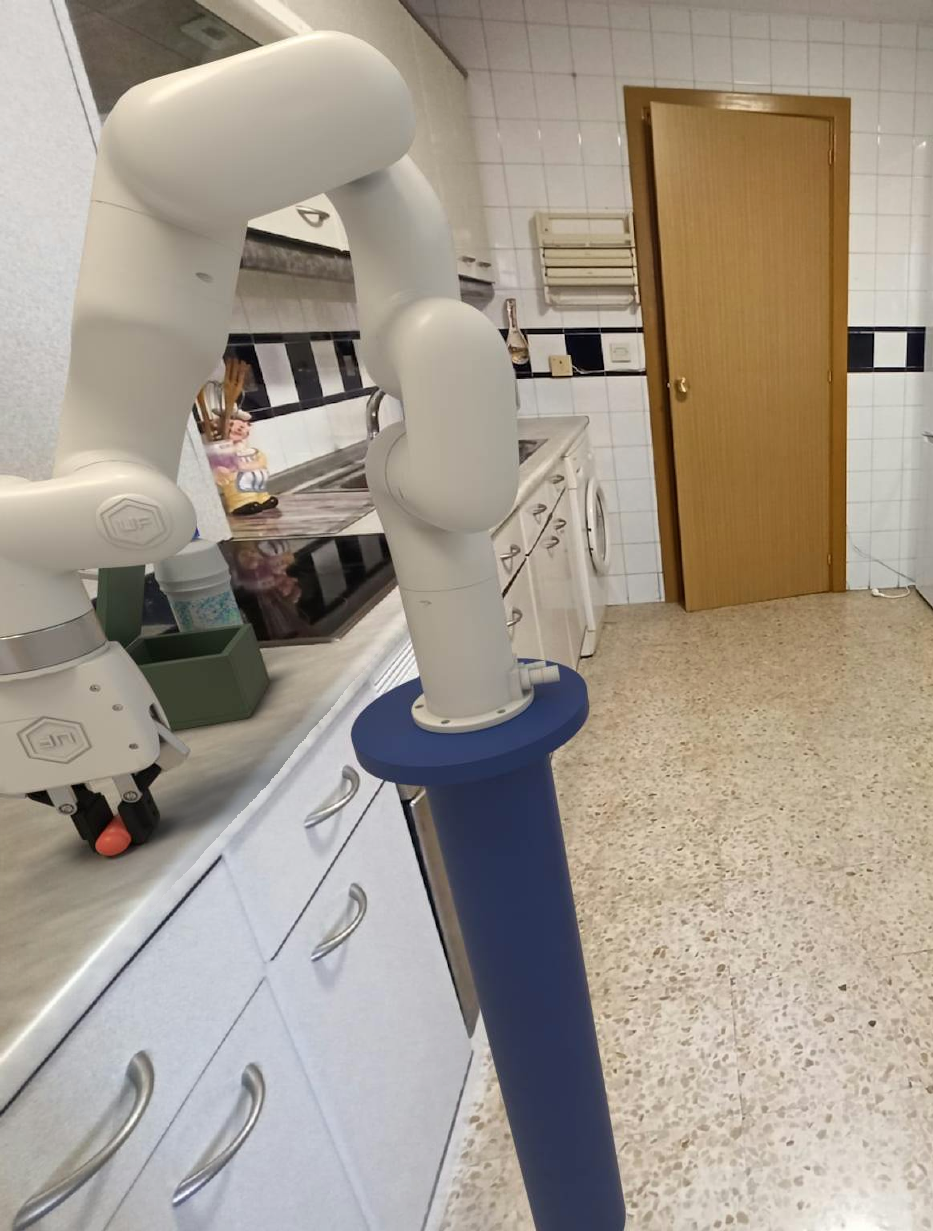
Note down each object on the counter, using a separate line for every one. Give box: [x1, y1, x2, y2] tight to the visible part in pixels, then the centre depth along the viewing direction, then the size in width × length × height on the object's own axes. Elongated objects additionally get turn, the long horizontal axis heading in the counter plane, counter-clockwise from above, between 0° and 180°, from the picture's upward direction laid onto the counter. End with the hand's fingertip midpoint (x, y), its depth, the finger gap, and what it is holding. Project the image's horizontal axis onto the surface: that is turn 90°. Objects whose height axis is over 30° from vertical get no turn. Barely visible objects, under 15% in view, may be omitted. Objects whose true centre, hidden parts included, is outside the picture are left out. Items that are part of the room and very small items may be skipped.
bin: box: [125, 622, 271, 732], centre depth 80 cm, size 11×10×8 cm
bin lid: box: [78, 564, 147, 650], centre depth 74 cm, size 11×10×5 cm
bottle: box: [152, 526, 244, 632], centre depth 85 cm, size 7×7×20 cm
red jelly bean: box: [96, 811, 132, 857], centre depth 61 cm, size 6×2×2 cm, turn 24°
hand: (126, 836), depth 61 cm, fingers closed on red jelly bean, 2 cm apart
